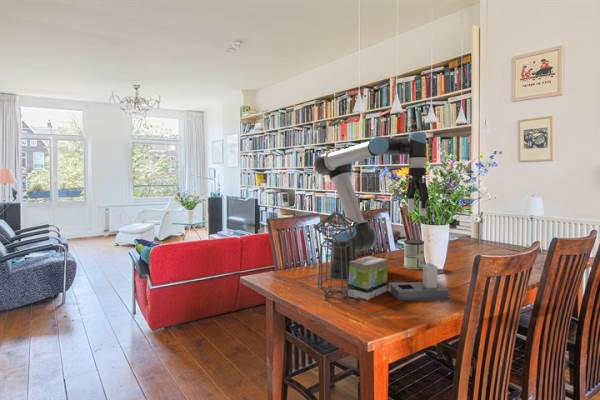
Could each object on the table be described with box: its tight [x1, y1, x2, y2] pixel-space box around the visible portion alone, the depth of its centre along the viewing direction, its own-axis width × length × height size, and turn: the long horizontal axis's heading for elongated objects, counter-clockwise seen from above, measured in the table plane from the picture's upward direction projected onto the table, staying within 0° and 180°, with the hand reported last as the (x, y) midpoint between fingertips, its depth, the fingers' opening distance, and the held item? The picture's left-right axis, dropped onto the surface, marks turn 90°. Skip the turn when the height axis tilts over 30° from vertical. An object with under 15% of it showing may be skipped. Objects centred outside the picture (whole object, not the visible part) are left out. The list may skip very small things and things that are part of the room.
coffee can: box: [403, 238, 425, 270], centre depth 202 cm, size 10×10×14 cm
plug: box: [422, 262, 438, 288], centre depth 153 cm, size 4×4×13 cm
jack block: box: [388, 281, 450, 302], centre depth 153 cm, size 20×12×4 cm, turn 94°
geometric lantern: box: [312, 211, 358, 300], centre depth 155 cm, size 16×16×35 cm
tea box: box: [347, 255, 389, 301], centre depth 156 cm, size 15×10×15 cm
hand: (416, 214), depth 171 cm, fingers open, 13 cm apart
